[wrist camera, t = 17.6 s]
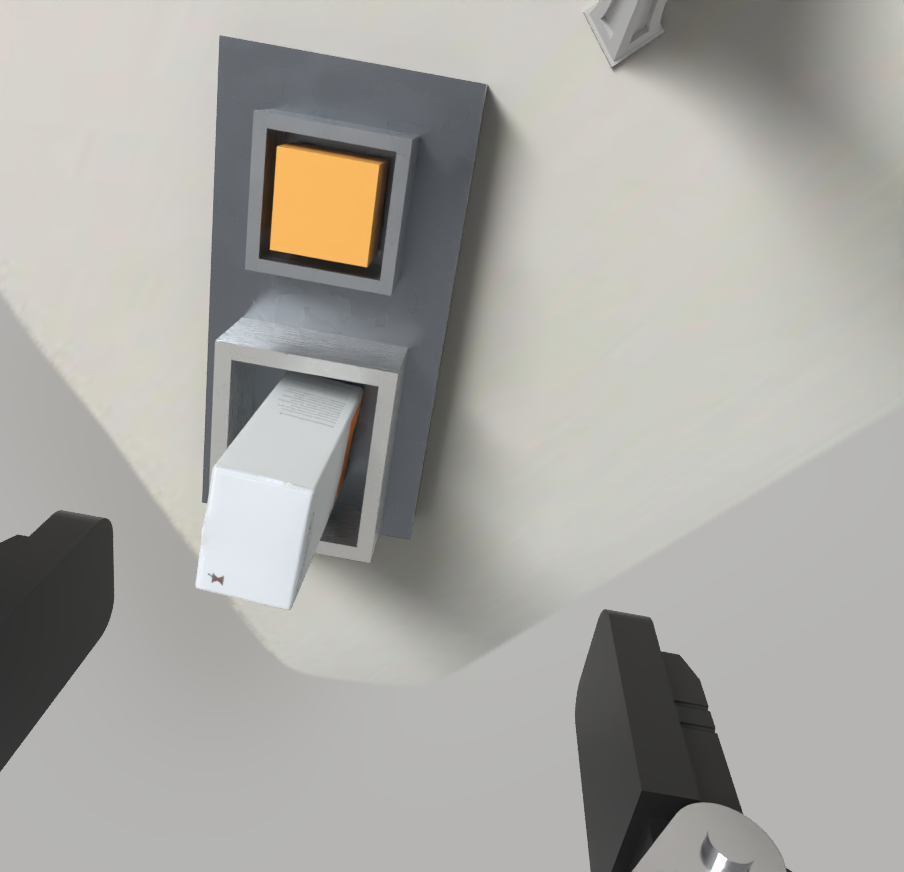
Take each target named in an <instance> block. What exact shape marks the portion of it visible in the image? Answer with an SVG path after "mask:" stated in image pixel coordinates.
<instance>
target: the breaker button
mask: <svg viewBox="0 0 904 872" xmlns="http://www.w3.org/2000/svg"><path fill="white" fill-rule="evenodd" d="M388 166H389V159H386V158H381V157H375V156H370V155H364V154H359V153H353V152H348V151H342V150H337V149H331V148H326V147H321V146H315V145H310V144H304V143H299V142H292V143H288V144H284V145H280V146H277V152H276V167H275V182H274V196H273V211H272V225H271V240H270V250H274V251H280V252H285V253H291V254H296V255H302V256H307V257H313V258H318V259H324V260H329V261H335V262H340V263H346V264H351V265H357V266H362V267H368V265H369V264H370V263H371V262H372V260H373V259H374V258H375V257H376V255H377V253H378V246H379V238H380V230H381V222H382V214H383V206H384V198H385V190H386V182H387V174H388Z"/></svg>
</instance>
